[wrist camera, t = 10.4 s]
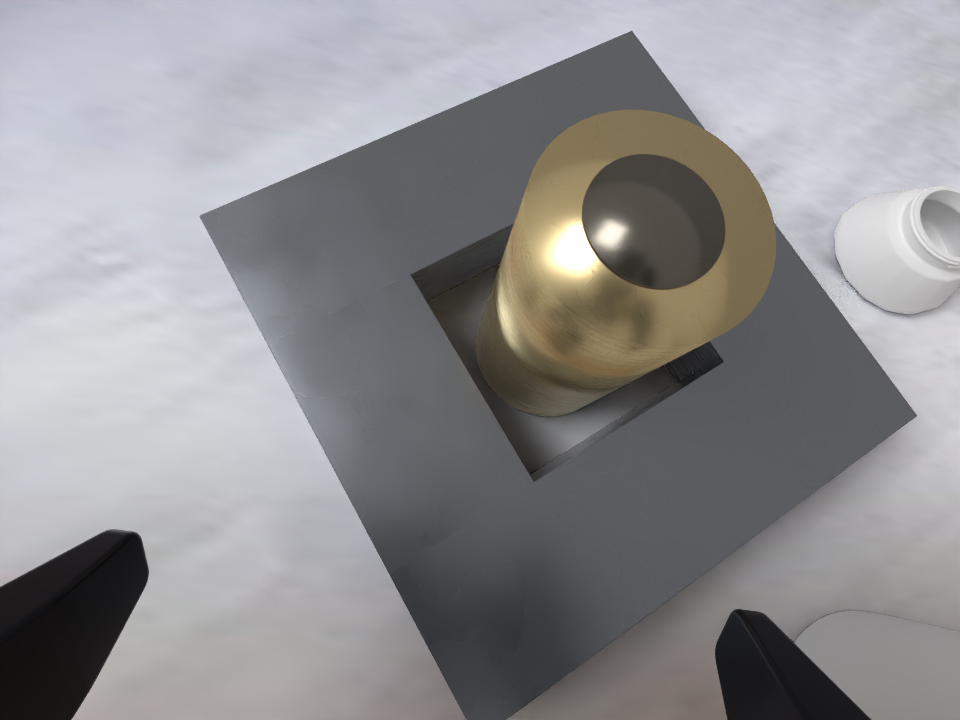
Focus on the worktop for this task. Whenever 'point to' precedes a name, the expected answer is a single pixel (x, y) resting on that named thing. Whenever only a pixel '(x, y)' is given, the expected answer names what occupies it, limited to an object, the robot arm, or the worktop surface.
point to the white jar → (902, 248)
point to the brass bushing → (622, 260)
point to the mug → (888, 664)
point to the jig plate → (473, 427)
